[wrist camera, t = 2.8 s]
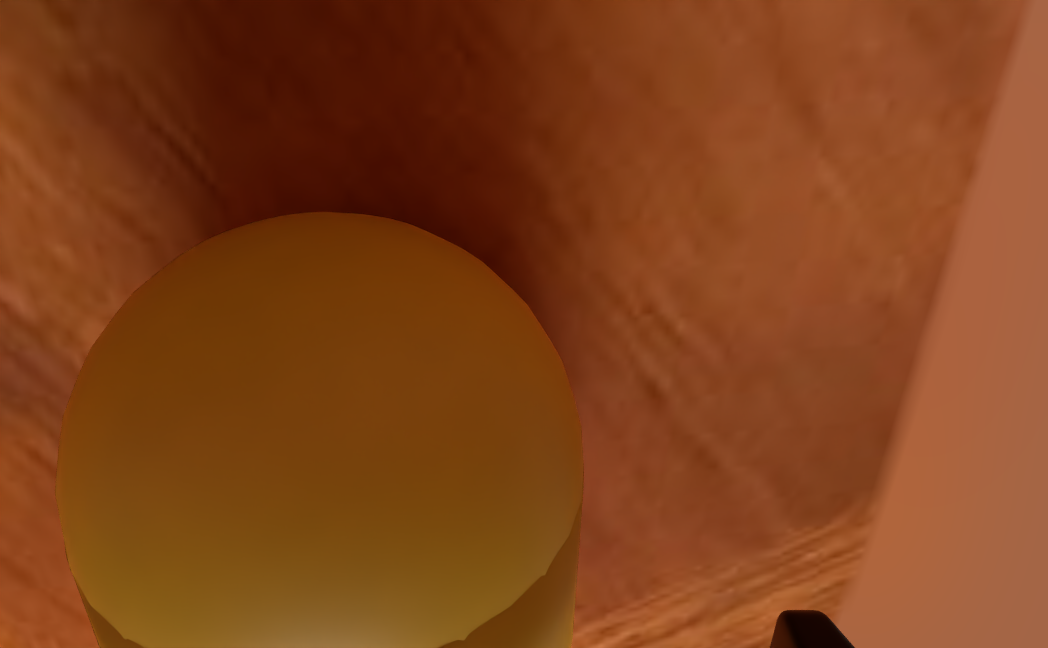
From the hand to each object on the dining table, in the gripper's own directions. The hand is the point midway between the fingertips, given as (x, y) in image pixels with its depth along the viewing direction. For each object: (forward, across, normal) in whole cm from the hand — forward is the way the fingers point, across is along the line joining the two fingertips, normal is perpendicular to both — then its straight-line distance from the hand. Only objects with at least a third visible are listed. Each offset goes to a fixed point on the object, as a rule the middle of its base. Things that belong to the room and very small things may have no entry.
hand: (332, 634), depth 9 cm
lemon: (+4, 0, 0) cm, 4 cm away
